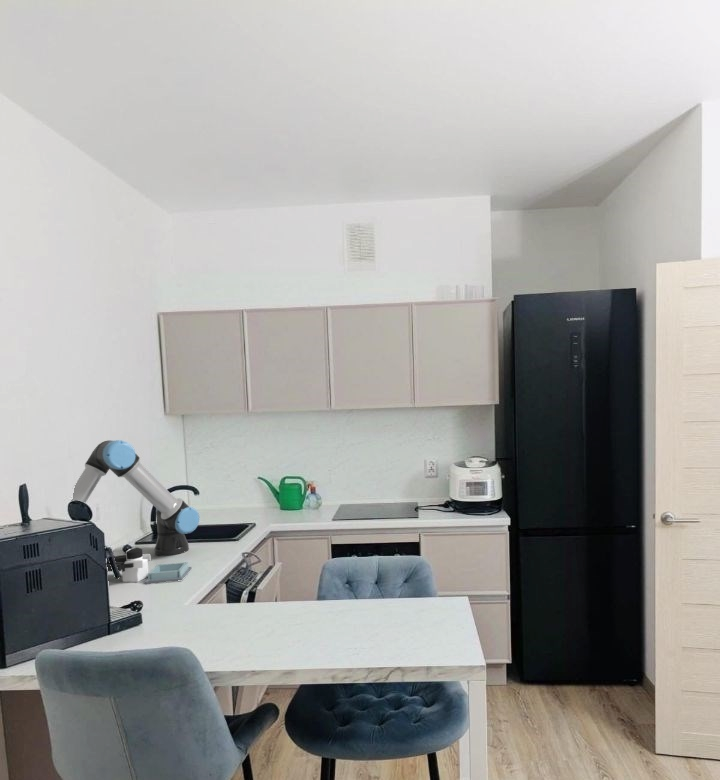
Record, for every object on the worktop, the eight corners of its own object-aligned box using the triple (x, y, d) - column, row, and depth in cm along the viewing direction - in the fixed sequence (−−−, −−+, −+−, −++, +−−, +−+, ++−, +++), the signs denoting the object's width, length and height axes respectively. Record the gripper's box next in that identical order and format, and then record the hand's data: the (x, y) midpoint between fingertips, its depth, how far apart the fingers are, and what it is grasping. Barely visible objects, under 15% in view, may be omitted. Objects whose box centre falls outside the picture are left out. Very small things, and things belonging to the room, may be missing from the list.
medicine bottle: (149, 576, 237) (147, 546, 237) (137, 582, 230) (135, 551, 230) (133, 576, 239) (132, 546, 239) (122, 582, 232) (120, 551, 232)
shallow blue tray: (157, 572, 242) (156, 563, 242) (191, 569, 243) (191, 560, 243) (144, 584, 226) (144, 575, 226) (181, 581, 227) (181, 572, 227)
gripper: (99, 567, 244) (155, 562, 245) (77, 583, 223) (138, 578, 224) (98, 548, 244) (154, 544, 245) (76, 563, 223) (136, 558, 224)
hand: (146, 560), depth 234 cm, fingers closed on medicine bottle, 9 cm apart
